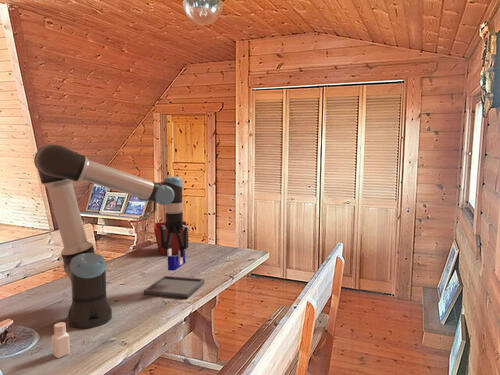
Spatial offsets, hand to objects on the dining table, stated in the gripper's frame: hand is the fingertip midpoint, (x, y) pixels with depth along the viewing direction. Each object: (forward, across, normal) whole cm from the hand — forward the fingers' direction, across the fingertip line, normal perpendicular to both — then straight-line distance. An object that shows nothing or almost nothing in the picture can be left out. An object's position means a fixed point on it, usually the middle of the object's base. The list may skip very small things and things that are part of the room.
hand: (175, 263), depth 176 cm
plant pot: (+12, +29, -58) cm, 66 cm away
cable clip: (+1, 0, 0) cm, 2 cm away
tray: (+11, 0, 0) cm, 11 cm away
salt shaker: (+11, +10, +61) cm, 63 cm away
